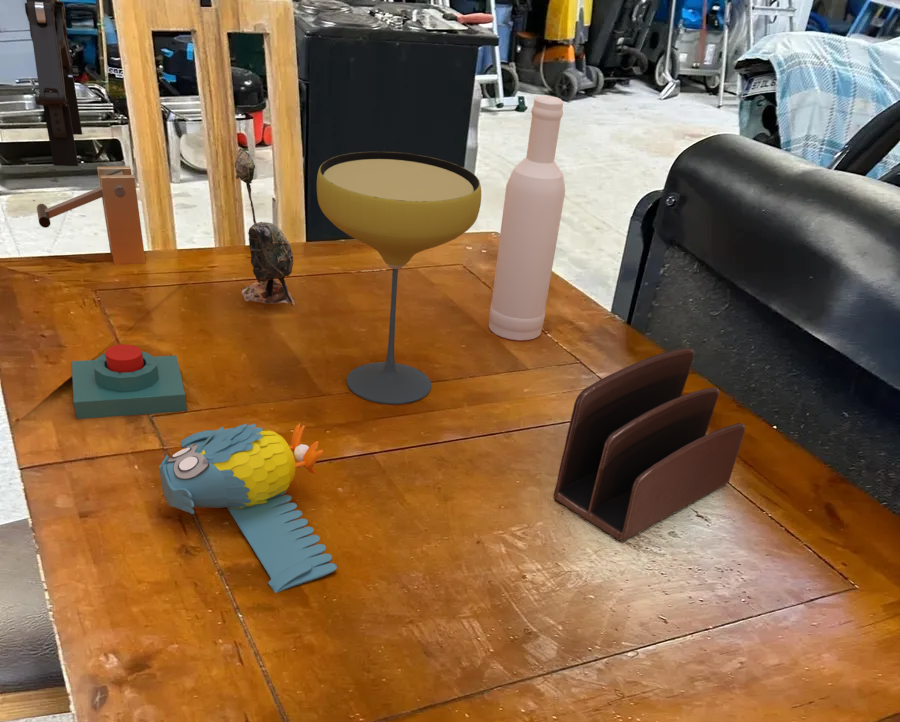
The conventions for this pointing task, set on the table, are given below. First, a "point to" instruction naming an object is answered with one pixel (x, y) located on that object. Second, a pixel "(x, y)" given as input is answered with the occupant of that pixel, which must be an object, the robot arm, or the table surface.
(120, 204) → the bracket
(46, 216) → the lever
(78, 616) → the table surface
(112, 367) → the button
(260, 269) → the stone bird sculpture
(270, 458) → the owl figurine
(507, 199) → the bottle
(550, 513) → the table surface
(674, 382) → the letter holder
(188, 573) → the table surface
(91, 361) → the button block
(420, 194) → the cocktail glass
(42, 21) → the robot arm
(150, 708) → the table surface
